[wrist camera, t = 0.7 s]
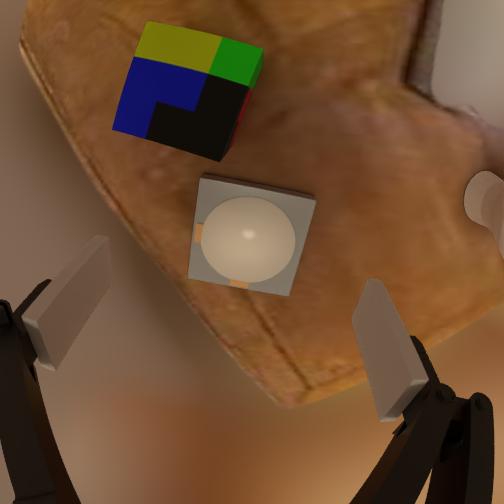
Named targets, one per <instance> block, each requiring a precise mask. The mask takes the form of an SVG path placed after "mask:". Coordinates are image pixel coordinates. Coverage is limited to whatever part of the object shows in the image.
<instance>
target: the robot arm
mask: <svg viewBox="0 0 504 504" xmlns="http://www.w3.org/2000/svg"><path fill="white" fill-rule="evenodd" d="M112 282H113V281H112V271H111V260H110V247H109V237H106V236H100V235H95V236H94V237H93V238H92V240H90V241H89V242H88V243H87V245H85V246H84V248H82V249H81V250H80V251H79V253H78V254H77V255H76V256H75V257H74V258H73V259H72V260H71V261H70V262H69V263H68V264H67V265H66V266H65V267H64V268H63V269H62V270H61V271H60V272H59V273H58V275H57V276H56V277H55V278H54V279H53V280H50V279H47V280H45V281H43V282H42V283H40V284H38V285H37V287H36V288H35V289H34V290H33V291H32V293H30V294H29V296H28V297H27V298H26V299H25V300H24V301H23V302H22V304H20V306H19V307H18V308H17V309H16V310H15V311H14V313H13V312H12V309H11V306H10V303H9V302H7V301H6V300H0V440H1V445H2V449H3V454H4V458H5V462H6V465H7V469H8V473H9V476H10V479H11V483H12V486H13V489H14V492H15V500H14V501H13V504H81V502H80V500H79V498H78V496H77V494H76V491H75V489H74V487H73V485H72V482H71V480H70V478H69V475H68V473H67V471H66V468H65V465H64V463H63V461H62V458H61V455H60V452H59V450H58V447H57V444H56V441H55V438H54V435H53V432H52V429H51V426H50V423H49V419H48V416H47V413H46V409H45V406H44V402H43V398H42V394H41V390H40V386H39V382H38V378H37V373H36V368H35V366H34V364H33V363H34V361H35V360H36V358H37V357H38V360H39V362H40V364H41V366H42V367H45V368H47V369H50V370H52V371H55V372H56V371H57V369H58V367H59V365H60V364H61V362H62V360H63V359H64V357H65V355H66V354H67V352H68V350H69V348H70V347H71V345H72V344H73V342H74V340H75V339H76V337H77V336H78V334H79V332H80V331H81V329H82V328H83V326H84V324H85V323H86V321H87V320H88V318H89V317H90V315H91V314H92V312H93V311H94V309H95V307H96V306H97V305H98V303H99V302H100V300H101V299H102V297H103V295H104V294H105V293H106V291H107V290H108V288H109V287H110V285H111V284H112ZM351 322H352V325H353V328H354V331H355V335H356V338H357V341H358V344H359V348H360V351H361V354H362V358H363V361H364V365H365V368H366V372H367V375H368V379H369V382H370V386H371V390H372V394H373V397H374V401H375V405H376V409H377V413H378V417H379V421H380V422H385V421H395V420H396V419H397V418H398V417H399V416H400V415H401V413H403V417H404V421H403V422H402V423H401V424H400V425H399V426H398V428H397V429H396V430H395V431H394V432H393V434H395V435H394V437H393V439H392V440H391V442H390V444H389V445H388V447H387V449H386V451H385V452H384V454H383V455H382V457H381V458H380V460H379V462H378V463H377V465H376V466H375V468H374V469H373V471H372V472H371V474H370V475H369V477H368V478H367V480H366V481H365V483H364V484H363V486H362V487H361V488H360V490H359V491H358V493H357V494H356V495H355V497H354V498H353V500H352V501H351V502H350V504H415V502H416V500H417V498H418V496H419V494H420V492H421V490H422V488H423V486H424V484H425V482H426V480H427V478H428V476H429V474H430V471H431V469H432V473H431V478H430V483H429V488H428V493H427V498H426V501H425V504H491V503H492V493H493V479H494V419H493V407H492V403H491V401H490V399H489V398H488V397H487V396H486V395H484V394H482V393H479V392H477V393H474V394H473V395H472V396H471V397H470V398H469V399H464V398H459V397H456V395H455V392H454V391H453V390H452V388H450V387H449V386H448V385H445V384H443V383H440V381H439V379H438V377H437V374H436V372H435V370H434V368H433V366H432V363H431V362H430V360H429V357H428V355H427V354H426V351H425V349H424V347H423V344H422V343H421V342H420V341H419V340H418V339H417V338H416V337H415V336H409V334H408V332H407V330H406V328H405V326H404V324H403V322H402V320H401V318H400V315H399V313H398V311H397V309H396V307H395V306H394V304H393V302H392V300H391V298H390V296H389V294H388V292H387V290H386V288H385V286H384V284H383V282H382V281H381V280H378V279H371V278H368V280H367V282H366V285H365V287H364V290H363V292H362V295H361V297H360V300H359V302H358V304H357V307H356V309H355V312H354V314H353V316H352V318H351Z"/></svg>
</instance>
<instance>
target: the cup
mask: <svg viewBox="0 0 504 504" xmlns="http://www.w3.org/2000/svg"><path fill="white" fill-rule="evenodd" d="M464 208H465V212H466V214H467V216H468V217H469V218H470V219H471V220H472V221H474V222H476V223H478V224H480V225H482V226H485V227H487V228H488V229H489V230H490V231H491V232H492V234H493V237H494V240H495V243H496V245H497V247H498V249H499V251H500V253H501V255H502V256H503V258H504V181H503V180H502V179H500V178H499V177H498V176H496V175H495V174H493V173H492V172H490V171H481V172H479V173H477V174H476V175H475V176H474V177H473V178H472V179H471V180H470V182H469V183H468V185H467V188H466V190H465V195H464Z"/></svg>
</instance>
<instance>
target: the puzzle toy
mask: <svg viewBox="0 0 504 504" xmlns="http://www.w3.org/2000/svg"><path fill="white" fill-rule="evenodd" d="M262 66H263V49H261V48H258V47H255V46H251V45H248V44H245V43H242V42H238V41H235V40H231V39H228V38H224V37H221V36H217V35H213V34H209V33H205V32H201V31H196V30H192V29H187V28H183V27H178V26H173V25H167V24H162V23H156V22H149V21H147V23H146V26H145V28H144V30H143V33H142V36H141V38H140V41H139V43H138V46H137V49H136V52H135V54H134V57H133V60H132V63H131V66H130V69H129V72H128V75H127V78H126V81H125V85H124V88H123V91H122V95H121V98H120V101H119V105H118V109H117V112H116V116H115V120H114V124H113V128H112V130H115V131H119V132H123V133H126V134H130V135H133V136H137V137H140V138H144V139H147V140H151V141H154V142H158V143H161V144H164V145H167V146H171V147H174V148H177V149H180V150H184V151H187V152H190V153H193V154H196V155H199V156H202V157H205V158H208V159H211V160H214V161H217V162H220V161H221V160H222V159H223V157H224V156H225V154H226V153H227V152H228V150H229V149H230V147H231V146H232V143H233V141H234V138H235V135H236V133H237V130H238V127H239V125H240V122H241V119H242V117H243V114H244V111H245V109H246V106H247V104H248V101H249V98H250V96H251V93H252V91H253V88H254V86H255V83H256V81H257V78H258V76H259V73H260V71H261V68H262Z"/></svg>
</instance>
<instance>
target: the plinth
mask: <svg viewBox="0 0 504 504" xmlns="http://www.w3.org/2000/svg"><path fill="white" fill-rule="evenodd" d="M315 204H316V199H315V197H314V196H313V195H309V194H304V193H300V192H295V191H291V190H286V189H281V188H276V187H272V186H267V185H262V184H257V183H251V182H246V181H241V180H236V179H230V178H225V177H219V176H213V175H207V174H203V175H202V176H201V178H200V182H199V189H198V197H197V204H196V211H195V219H194V227H193V235H192V244H191V253H190V262H189V271H188V278H190V279H196V280H201V281H206V282H211V283H216V284H222V285H227V286H233V287H238V288H244V289H249V290H255V291H260V292H266V293H272V294H278V295H284V296H289V293H290V289H291V286H292V283H293V280H294V277H295V273H296V270H297V267H298V263H299V260H300V257H301V253H302V250H303V246H304V243H305V240H306V236H307V233H308V229H309V226H310V222H311V219H312V215H313V212H314V208H315Z"/></svg>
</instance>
